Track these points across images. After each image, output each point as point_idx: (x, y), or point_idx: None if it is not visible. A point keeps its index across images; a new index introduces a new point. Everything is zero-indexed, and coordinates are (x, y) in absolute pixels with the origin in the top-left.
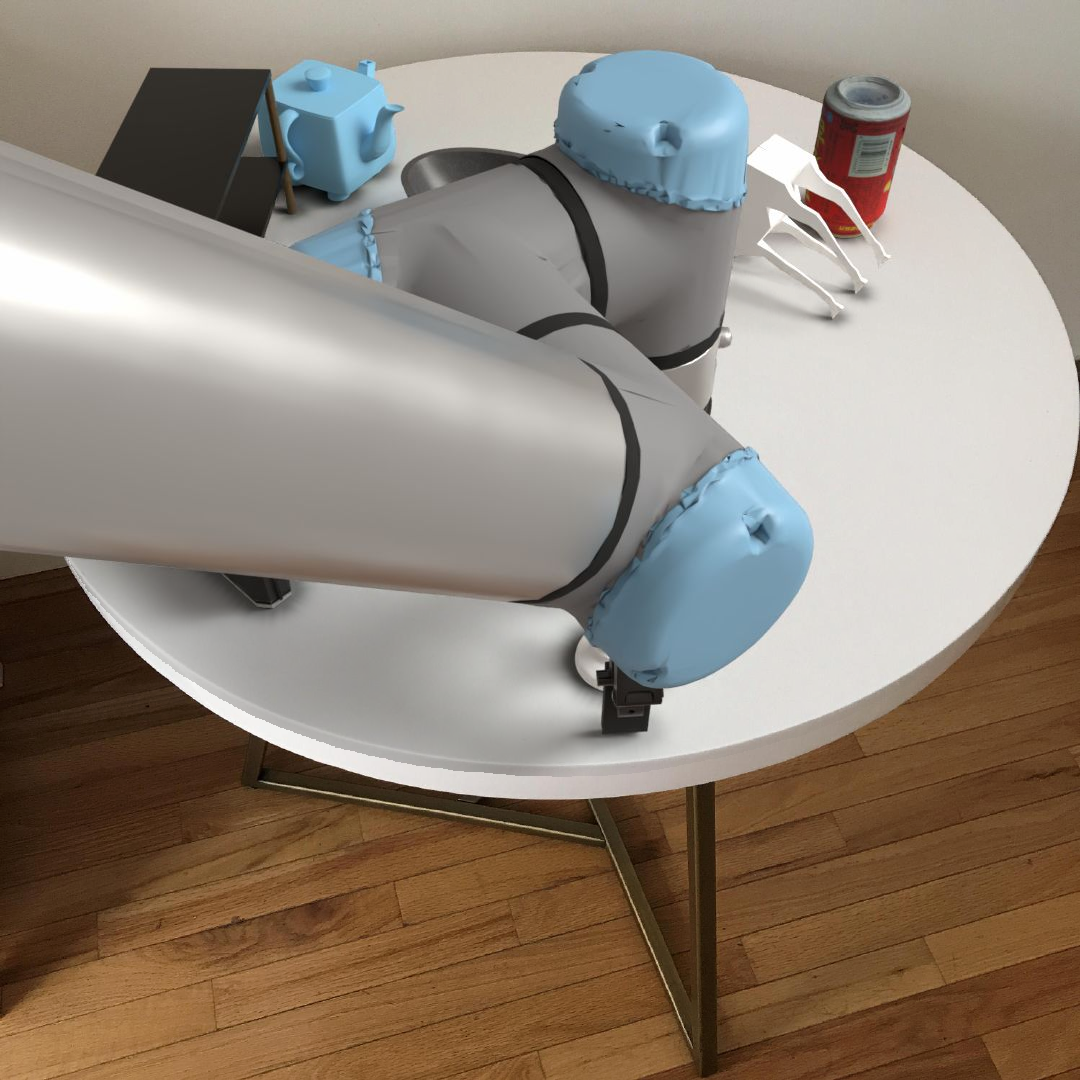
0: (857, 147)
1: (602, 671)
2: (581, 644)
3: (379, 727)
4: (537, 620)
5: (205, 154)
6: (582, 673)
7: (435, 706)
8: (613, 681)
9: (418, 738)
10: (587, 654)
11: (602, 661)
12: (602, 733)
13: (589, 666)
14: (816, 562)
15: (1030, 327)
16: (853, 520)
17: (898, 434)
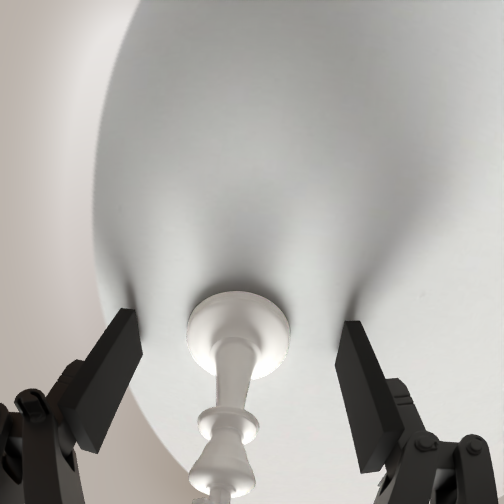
0: None
1: (46, 405)
2: (254, 310)
3: (155, 11)
4: (322, 248)
5: None
6: (214, 299)
7: (179, 82)
8: (25, 415)
9: (130, 63)
10: (232, 317)
11: (216, 334)
12: (120, 309)
13: (212, 315)
14: (325, 477)
15: None
16: (355, 490)
17: None
